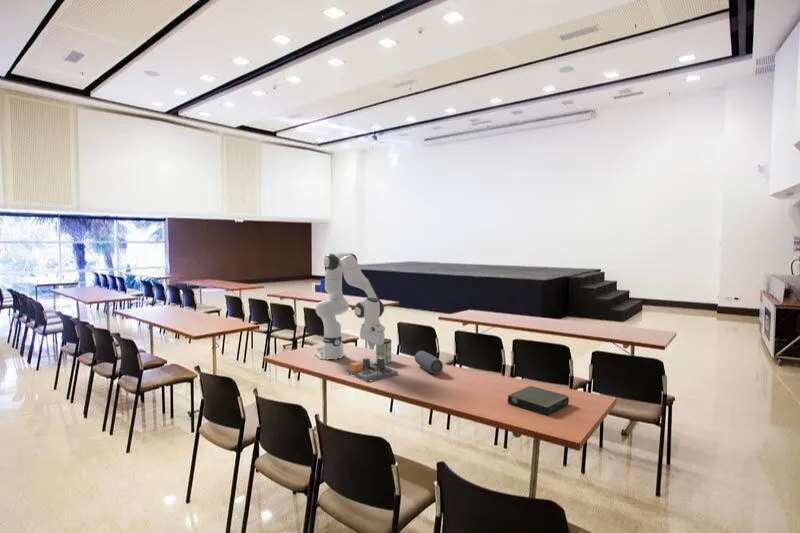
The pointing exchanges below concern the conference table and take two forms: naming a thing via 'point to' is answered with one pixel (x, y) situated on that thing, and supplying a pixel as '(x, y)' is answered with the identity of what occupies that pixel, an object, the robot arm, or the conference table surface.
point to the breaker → (380, 362)
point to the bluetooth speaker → (428, 362)
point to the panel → (373, 372)
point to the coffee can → (384, 351)
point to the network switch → (538, 400)
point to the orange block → (355, 367)
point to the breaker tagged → (366, 363)
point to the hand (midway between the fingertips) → (371, 349)
